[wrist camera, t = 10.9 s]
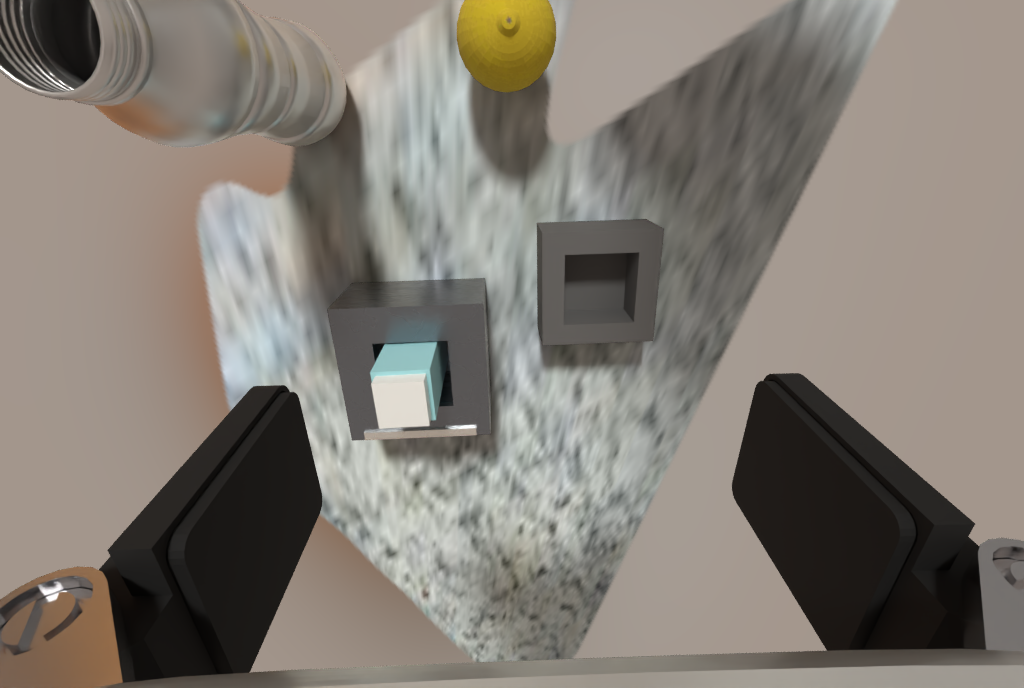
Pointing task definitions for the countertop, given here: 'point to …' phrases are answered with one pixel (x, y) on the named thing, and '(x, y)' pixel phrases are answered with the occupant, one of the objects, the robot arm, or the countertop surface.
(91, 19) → the plastic bottle
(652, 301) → the grey square socket
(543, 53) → the lemon
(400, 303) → the port block
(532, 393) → the countertop surface
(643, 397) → the countertop surface
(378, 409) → the plug
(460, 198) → the countertop surface
